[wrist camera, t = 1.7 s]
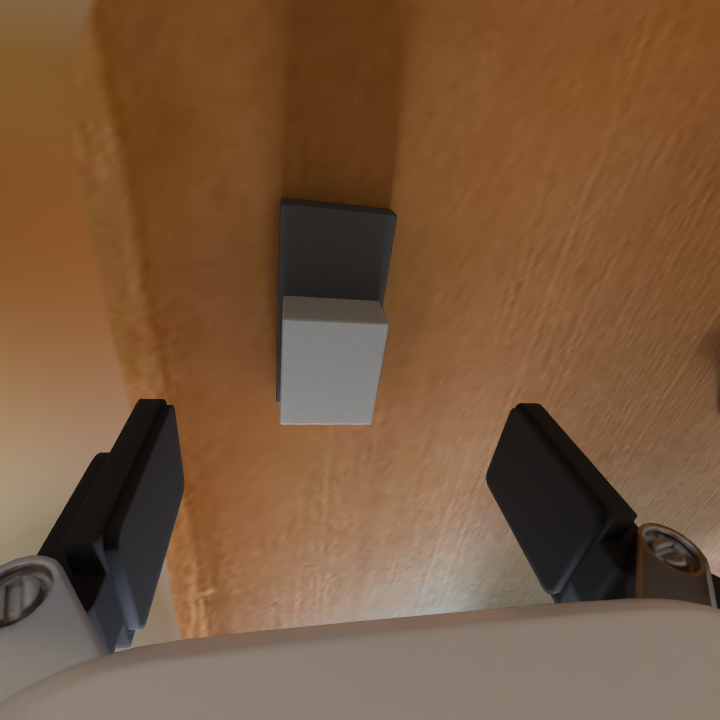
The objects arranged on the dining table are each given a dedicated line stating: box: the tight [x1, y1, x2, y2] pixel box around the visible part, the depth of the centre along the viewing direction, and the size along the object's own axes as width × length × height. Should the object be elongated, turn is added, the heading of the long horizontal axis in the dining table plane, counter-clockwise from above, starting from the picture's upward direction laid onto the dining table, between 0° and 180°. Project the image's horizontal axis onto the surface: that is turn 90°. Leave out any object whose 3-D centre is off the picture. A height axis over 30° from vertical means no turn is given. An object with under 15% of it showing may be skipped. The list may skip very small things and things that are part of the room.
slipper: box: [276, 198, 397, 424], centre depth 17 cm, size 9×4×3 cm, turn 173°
